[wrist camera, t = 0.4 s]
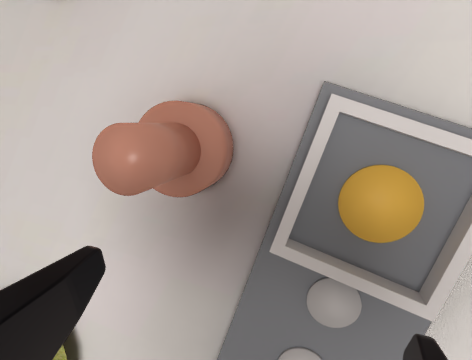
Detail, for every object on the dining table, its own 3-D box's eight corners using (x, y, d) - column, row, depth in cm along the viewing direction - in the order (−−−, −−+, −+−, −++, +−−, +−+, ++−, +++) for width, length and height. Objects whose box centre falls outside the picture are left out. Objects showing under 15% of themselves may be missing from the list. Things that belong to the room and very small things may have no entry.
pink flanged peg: (184, 204, 26) (115, 244, 17) (138, 135, 26) (47, 142, 17) (250, 158, 24) (210, 179, 15) (201, 85, 24) (133, 64, 15)
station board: (355, 439, 25) (359, 476, 23) (214, 367, 28) (202, 394, 25) (517, 146, 20) (549, 149, 17) (324, 83, 22) (324, 77, 19)
